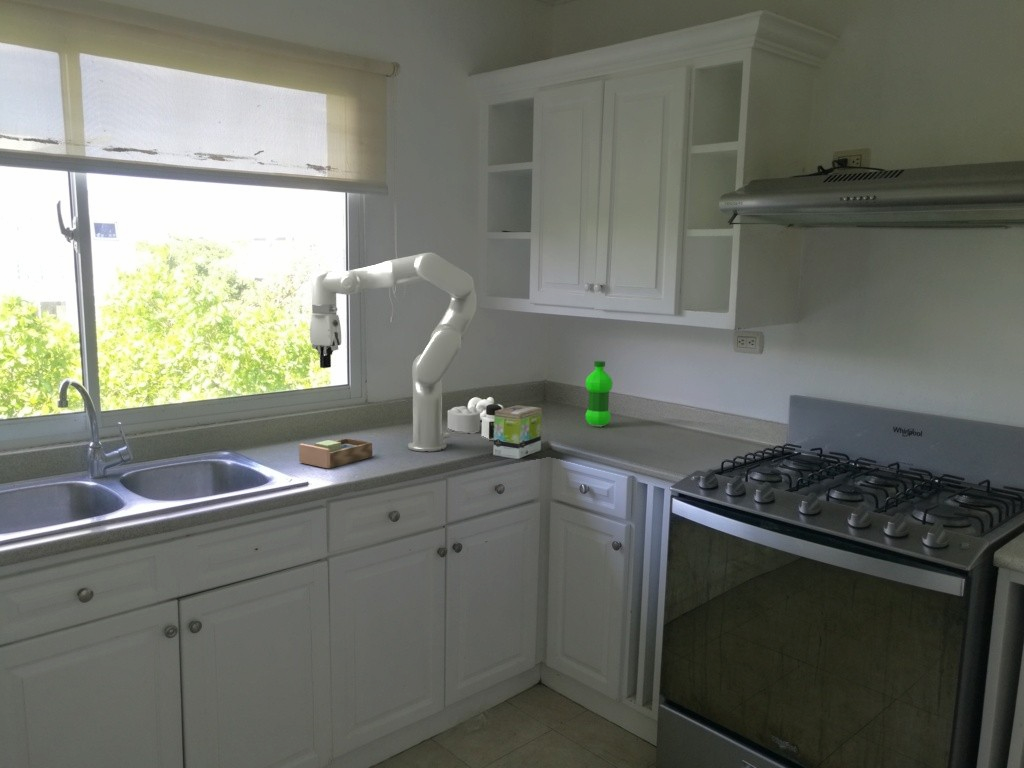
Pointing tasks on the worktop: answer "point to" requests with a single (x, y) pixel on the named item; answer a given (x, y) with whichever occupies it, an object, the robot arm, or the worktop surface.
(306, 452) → the wooden drawer
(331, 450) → the olive block
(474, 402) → the white knobbly figure
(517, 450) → the tea box
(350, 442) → the organiser box
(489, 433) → the medicine bottle
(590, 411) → the plastic bottle
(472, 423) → the lumpy-topped squat cylinder
